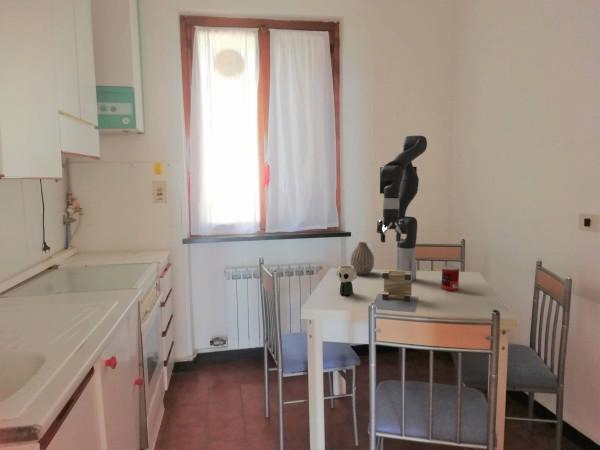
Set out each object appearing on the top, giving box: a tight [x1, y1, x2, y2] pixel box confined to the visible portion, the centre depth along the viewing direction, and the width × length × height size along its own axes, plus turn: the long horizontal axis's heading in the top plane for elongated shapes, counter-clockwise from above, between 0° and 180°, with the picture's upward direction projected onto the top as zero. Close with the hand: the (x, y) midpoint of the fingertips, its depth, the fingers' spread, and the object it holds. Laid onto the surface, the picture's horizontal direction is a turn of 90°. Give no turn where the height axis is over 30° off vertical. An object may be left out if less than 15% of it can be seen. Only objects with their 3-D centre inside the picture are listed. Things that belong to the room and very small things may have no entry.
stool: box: [381, 269, 413, 302], centre depth 197 cm, size 7×12×12 cm, turn 72°
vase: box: [349, 241, 375, 276], centre depth 246 cm, size 13×13×18 cm
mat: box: [373, 293, 419, 313], centre depth 192 cm, size 23×18×1 cm
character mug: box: [335, 264, 358, 296], centre depth 206 cm, size 11×7×13 cm, turn 52°
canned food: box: [441, 264, 460, 292], centre depth 213 cm, size 8×8×11 cm
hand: (390, 241), depth 212 cm, fingers open, 8 cm apart
